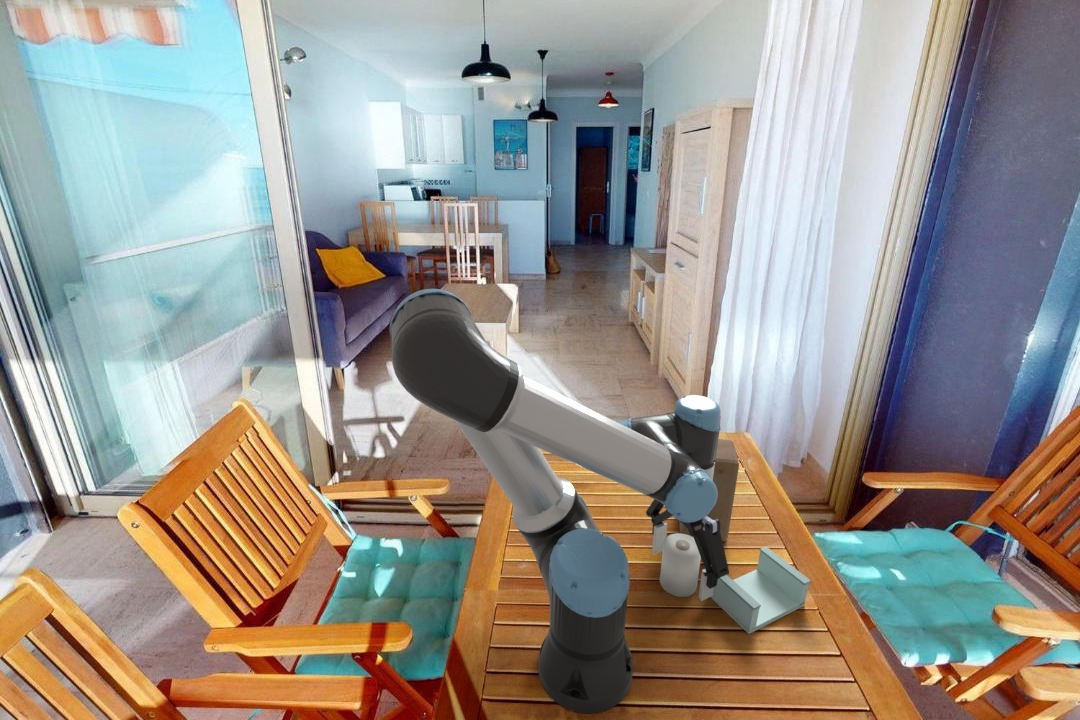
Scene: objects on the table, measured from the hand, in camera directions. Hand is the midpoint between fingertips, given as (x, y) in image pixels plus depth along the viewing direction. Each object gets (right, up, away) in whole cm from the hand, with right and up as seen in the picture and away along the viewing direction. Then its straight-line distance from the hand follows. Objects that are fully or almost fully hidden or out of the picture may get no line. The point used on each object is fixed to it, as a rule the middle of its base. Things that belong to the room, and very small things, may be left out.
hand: (680, 573), depth 107 cm
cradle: (+13, -4, -3) cm, 14 cm away
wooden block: (+9, +4, +17) cm, 19 cm away
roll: (0, -2, +1) cm, 2 cm away
